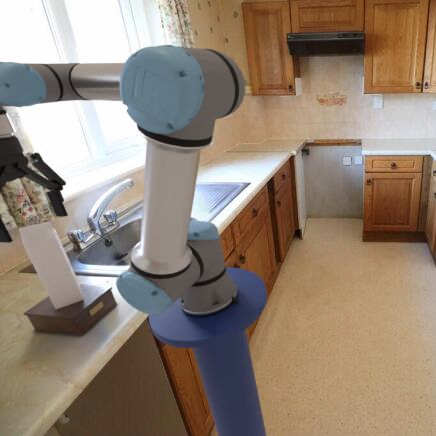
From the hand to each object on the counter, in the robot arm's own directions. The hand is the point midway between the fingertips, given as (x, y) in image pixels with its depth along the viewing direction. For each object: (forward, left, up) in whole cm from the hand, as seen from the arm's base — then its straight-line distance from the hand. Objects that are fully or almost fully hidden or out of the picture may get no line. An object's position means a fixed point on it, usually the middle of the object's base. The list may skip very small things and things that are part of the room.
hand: (36, 227), depth 76 cm
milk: (0, 0, -21) cm, 21 cm away
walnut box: (0, 0, -27) cm, 27 cm away
